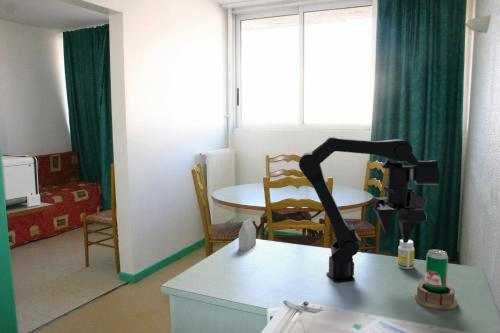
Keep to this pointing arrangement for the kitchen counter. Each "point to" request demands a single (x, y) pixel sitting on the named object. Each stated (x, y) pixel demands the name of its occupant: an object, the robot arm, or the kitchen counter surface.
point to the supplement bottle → (406, 255)
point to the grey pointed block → (247, 235)
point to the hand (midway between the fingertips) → (395, 237)
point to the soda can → (436, 271)
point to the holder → (436, 298)
